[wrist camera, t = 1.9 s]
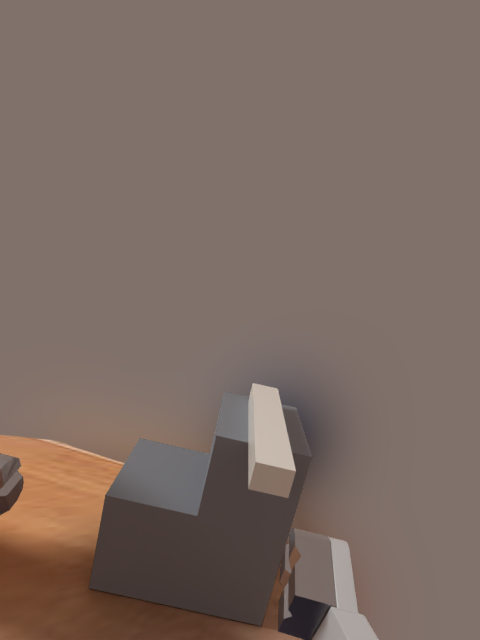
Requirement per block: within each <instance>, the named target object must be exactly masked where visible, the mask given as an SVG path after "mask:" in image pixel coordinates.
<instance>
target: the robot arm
mask: <svg viewBox="0 0 480 640" xmlns="http://www.w3.org/2000/svg"><path fill="white" fill-rule="evenodd" d="M20 467H21V464H20V460H19V458H16V457H12V456H8V455H5V454H1V453H0V515H1V514H3V513H5V512H7V511H9V510H10V509H11V507H12V506H13V505H14V504H15V502H16V501H17V499H18V497H19V495H20V493H21V491H22V488H23V483H24V482H23V476H22V475H21V474H20V473H19V472H18V469H19V468H20ZM280 584H281V586H282V588H283V592H282V595H281V597H280V600H279V614H278V632H281V633H285V634H288V635H291V636H295V637H298V638H301V639H304V640H379V639H378V637H377V635H376V634H375V632H374V630H373V629H372V627H371V625H370V624H369V622H368V620H367V619H366V617H365V615H362V614H359V611H358V604H357V597H356V590H355V583H354V576H353V570H352V562H351V555H350V549H349V546H348V543H347V542H346V541H343V540H339V539H334V538H331V537H328V536H325V535H320V534H316V533H311V532H308V531H303V530H299V529H295V528H293V529H292V530H291V532H290V535H289V543H288V544H286V545H285V548H284V551H283V555H282V560H281V567H280Z"/></svg>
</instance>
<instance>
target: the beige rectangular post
mask: <svg viewBox="0 0 480 640" xmlns="http://www.w3.org/2000/svg"><path fill="white" fill-rule="evenodd" d="M295 473H296V469H295V464H294V460H293V455H292V451H291V446H290V442H289V437H288V433H287V428H286V424H285V419H284V415H283V410H282V406H281V401H280V397H279V392H278V389H276V388H272V387H267V386H263V385H259V384H254V383H253V385H252V389H251V393H250V397H249V401H248V489H250V490H254V491H259V492H263V493H268V494H272V495H276V496H281V497H285V498H288V497H289V493H290V490H291V487H292V483H293V480H294V476H295Z"/></svg>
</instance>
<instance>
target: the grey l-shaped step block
mask: <svg viewBox="0 0 480 640" xmlns="http://www.w3.org/2000/svg"><path fill="white" fill-rule="evenodd" d="M248 401H249V397H247V396H243V395H238V394H234V393H230V392H224V396H223V400H222V404H221V409H220V413H219V417H218V421H217V425H216V429H215V434H214V438H213V442H212V446H211V450H210V454H207V453H203V452H198V451H194V450H190V449H185V448H180V447H176V446H172V445H168V444H163V443H159V442H154V441H150V440H146V439H141V438H140V439H139V441H138V443H137V444H136V446H135V447H134V449H133V451H132V452H131V454H130V456H129V457H128V459H127V461H126V462H125V464H124V466H123V467H122V469H121V471H120V472H119V474H118V476H117V477H116V479H115V480H114V482H113V484H112V485H111V487H110V489H109V490H108V492H107V494H106V495H105V501H104V506H103V512H102V517H101V523H100V529H99V534H98V540H97V545H96V551H95V556H94V562H93V567H92V573H91V579H90V584H89V588H90V589H95V590H100V591H104V592H109V593H113V594H118V595H122V596H127V597H131V598H136V599H141V600H145V601H150V602H154V603H159V604H163V605H168V606H173V607H177V608H182V609H186V610H191V611H195V612H200V613H205V614H209V615H214V616H218V617H223V618H227V619H232V620H236V621H241V622H246V623H250V624H255V625H259V626H262V622H263V619H264V616H265V612H266V609H267V606H268V602H269V599H270V596H271V592H272V589H273V586H274V582H275V579H276V576H277V572H278V569H279V566H280V562H281V559H282V555H283V551H284V548H285V545H286V542H287V539H288V536H289V532H290V529H291V525H292V522H293V518H294V515H295V512H296V509H297V505H298V502H299V498H300V495H301V492H302V489H303V485H304V482H305V479H306V475H307V472H308V469H309V465H310V462H311V459H312V456H311V453H310V450H309V446H308V443H307V440H306V437H305V434H304V431H303V428H302V424H301V421H300V418H299V415H298V412H297V409H296V408H295V407H291V406H286V405H282V404H281V406H282V410H283V415H284V419H285V424H286V428H287V433H288V437H289V442H290V446H291V451H292V455H293V460H294V464H295V469H296V473H295V476H294V480H293V483H292V487H291V490H290V493H289V497H288V498H285V497H281V496H276V495H272V494H268V493H263V492H259V491H254V490H250V489H248Z"/></svg>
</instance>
